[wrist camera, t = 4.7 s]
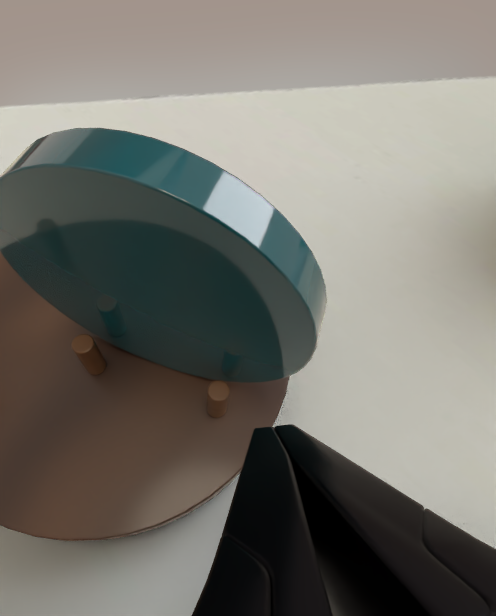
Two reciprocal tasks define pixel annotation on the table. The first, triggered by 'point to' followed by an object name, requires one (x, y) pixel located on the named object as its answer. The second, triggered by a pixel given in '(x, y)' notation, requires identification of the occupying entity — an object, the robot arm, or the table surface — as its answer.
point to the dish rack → (138, 331)
